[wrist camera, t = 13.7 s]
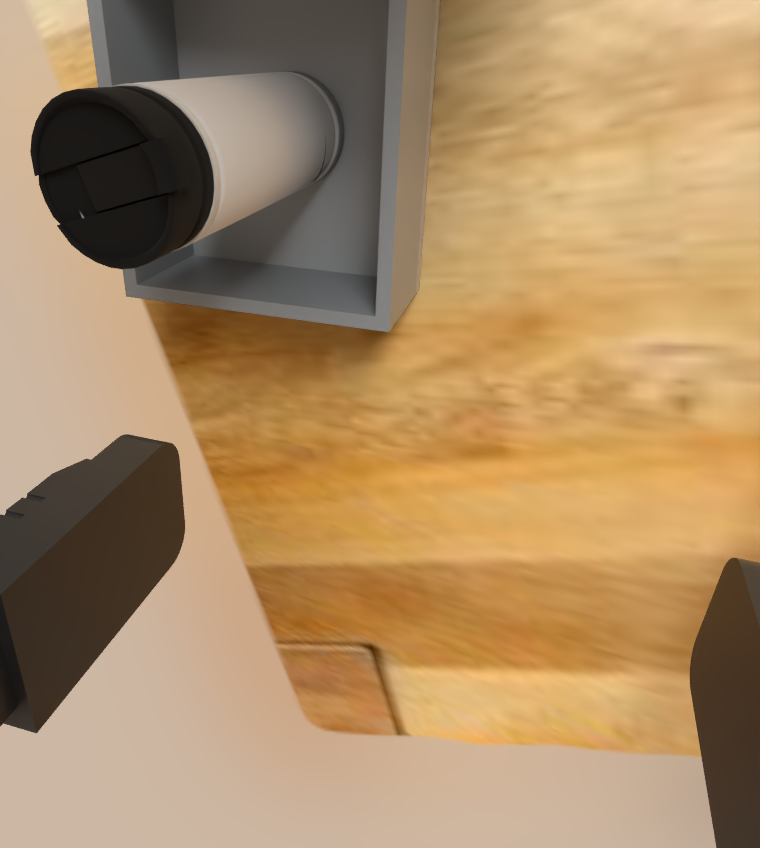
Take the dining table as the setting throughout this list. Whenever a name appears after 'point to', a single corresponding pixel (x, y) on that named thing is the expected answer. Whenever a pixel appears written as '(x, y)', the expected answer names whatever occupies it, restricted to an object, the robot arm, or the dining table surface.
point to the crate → (317, 203)
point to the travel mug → (179, 158)
